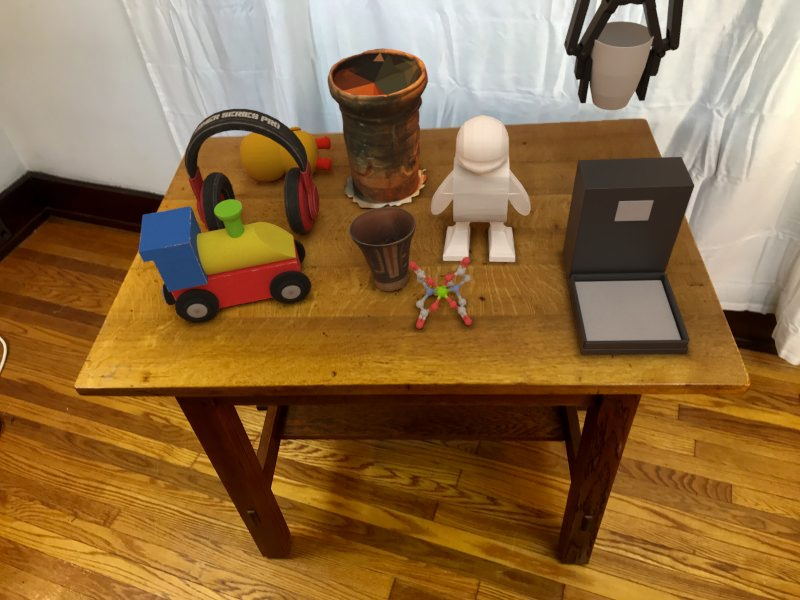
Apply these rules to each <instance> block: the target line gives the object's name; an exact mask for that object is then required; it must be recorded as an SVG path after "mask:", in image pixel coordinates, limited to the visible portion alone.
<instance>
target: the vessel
mask: <svg viewBox="0 0 800 600" xmlns="http://www.w3.org/2000/svg"><path fill="white" fill-rule="evenodd" d="M428 82H429V75H428V71H427V67H426V64H425V63H424V61H423V60H422V59H421V58H420V57H418V56H416V55H414V54H412V53H409V52H406V51H403V50H398V49H392V48H374V49H368V50H365V51H363V52H361V53H357V54H353V55H351V56H348V57H344V58H342V59H340V60H338V61H337V62H336V63H334V64H333V65H332V66H331V67H330V69H329V72H328V75H327V85H328V91H329V94H330V96H331V98H332V99H333V100H334V101H335V102H336V103H337V104H338V110H339V111H340V114H341V119H342V133H343V134H342V135H343V140H344V144H345V149H346V153H347V159H348V165H349V170H350V171H349V172H350V175H349V176H348V177H346V181H347V184H346V186H345V188H344V194H346V195H347V197H348V198H352V202H353V203H357V205H358V206H359V207H360V208H370V209H376V208H381V207H386V206H387V205H389V207H394V206H397V207H398V206H401V205H402V204H407V203H412V198H413V197H417V196H419V194H420V190H421V189H423V188H424V187H425V186H426V185H425V184H424V183H425V182H426V181H427V175H426V174H424V171H427V169H426V168H424V169H419V159H420V154H421V148H420V139H421V125H420V108H421V107H422V104H423V99H422V95H423V93H424V92H425V90H426V88H427V85H428Z"/></svg>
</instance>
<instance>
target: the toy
mask: <svg viewBox="0 0 800 600" xmlns="http://www.w3.org/2000/svg"><path fill="white" fill-rule="evenodd" d="M289 128H290V129H291V130H292V131H293V132H294V133H295V134H296V136H297V137H298V138H299V139H300V141H301V142H302V144H303V146H304V147H305V150H306V154H307V159H308V160H309V163H310V167H311V172H312V175H313V174H314V173H315V172H316V171H317V169H319V170H324V171H326V172H330V171H331V170H332V166H333V162H332V159H331V158H330V157H320V151H319V150H327V151H329V150H331V149H332V141H331V138H330V137H329V136H328V135H325V136H324V137H323V136H322V137H318V138H315V137H314V136H313V135H312V134H311V133H310V132H308V131H306V130H302V128H301V127H299V126H291V127H289ZM239 160H240V164H241V166H242V169H243V170H244V171H245V172H246V174H247V175H248V176H250V177H251V178H253V179H255V180H258V181H261V182H266V183H267V182H274V181H276V180H278V179H280V178H282V177H283V176H285V174H286V173H287V172H288V171H289V170H290V169H291V168H294V167H297V168H299V166H298V165H297V163H296V162H295V160H294V159H293V157H292V156H291V155H290V154H289V152H288V151H287V150H286V149H285V148H283V147H282V146H281V145H280V144H278V143H276V142H275V141H273V140H272V139H270V138H268V137H265V136H263V135H260V134H257V133H253V132H249V133H248V134H247V135H246V136H245V137H243V139H242V140H241V143H240V146H239Z"/></svg>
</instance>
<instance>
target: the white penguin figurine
mask: <svg viewBox="0 0 800 600" xmlns="http://www.w3.org/2000/svg"><path fill="white" fill-rule="evenodd" d="M451 203H452V221H453V222H454V223H455V224H453V225H451V226H450V225H448V226H447V228H446V233H445V240H444V247H443V253H442V261H443V262H445V261H446V262H461V261H462V259H463V258H464V257H468V258H469V259H470V243H471V226H470V224H471V223H489V225H490V226H488V229H487V232H488V233H487V235H488V262H492V263H494V262H495V263H497V262H498V263H515V262H516V252H515V251H516V250H515V241H514V233H513V228H512V226H506V225H505V223H507V220H508V207H509V203H510V205H512V207H513V208H514V209H515V211H516V212H517V213H519V215H521V216H525V217H526V216H529V215H530V214H531V210H532V209H531V208H532V207H531V200H530V196H529V194H528V193H527V191H526V189H525V188H524V186H523V184H522V183H521V182H520V180H519V179H518V178H517V177H516V175H515V174H514V173H513V172H512V170H511V169H510V137H509V133H508V131H507V128H506V126H505V125H504V123H503V122H502V121H500V120H499V119H497V118H495V117H493V116H491V115H490V116H489V115H485V114H481V115H477V116H474V117H471V118H469V119H467V120H466V121H464V122H463V124H462V125H461V126H460V128H459V130H458V132H457V134H456V142H455V156H454V158H453V169H452V170H451V171H450V173H449V174H448V175H447V176H446V177H445V178H444V180H442V182H441V183H440V184H439V186H438V188H437V189H436V190H435V192H434V194H433V196H432V198H431V202H430V212H431V214H432V215H434V216H437V215H440V214H442V213H443V212H444V211H445V210H446V209H447V208H448V207H449V205H450V204H451Z"/></svg>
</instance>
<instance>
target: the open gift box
mask: <svg viewBox="0 0 800 600" xmlns="http://www.w3.org/2000/svg"><path fill="white" fill-rule="evenodd" d="M683 159H684V158H683V157H682V156H663V157H662V156H661V157H635V158H634V157H633V158H631V157H630V158H606V159H605V158H603V159H579V160H577V164H576V171H575V176H574V182H573V190H572V194H571V200H570V206H569V211H568V216H567V217H568V218H567V224H566V230H565V234H564V235H565V236H564V240H563V241H564V242H563V247H562V253H561V254H562V259H563V265H564V270H565V275H566V281H567V286H568V290H569V294H570V295H569V296H570V301H571V306H572V311H573V317H574V321H575V326H576V333H577V336H578V341H579V347H580V351H581V355H582V356H593V355H595V356H597V355H599V356H601V355H602V356H604V355H605V356H607V355H610V356H611V355H612V356H613V355H686V354H687V352H688V351H689V348H688V346H689V343H690V339H691V338H690V336H689V333H688V330H687V328H686V325H685V323H684V319H683V315H682V313H681V311H680V308H679V305H678V302H677V299H676V296H675V293H674V290H673V288H672V285H671V282H670V278H669V277H668V274H666V269H667V267H668V264H669V261H670V259H671V256H672V252H673V250H674V247H675V243H676V241H677V238H678V235H679V233H680V229H681V226H682V223H683V221H684V217H685V215H686V213H687V209H688V206H689V203H690V200H691V197H692V195H693V192H694V188H695V183H694V180H693V179H692V177H691V175H690V173H689V171H688V168H687V166H686V164H685V162H684V160H683Z"/></svg>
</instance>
